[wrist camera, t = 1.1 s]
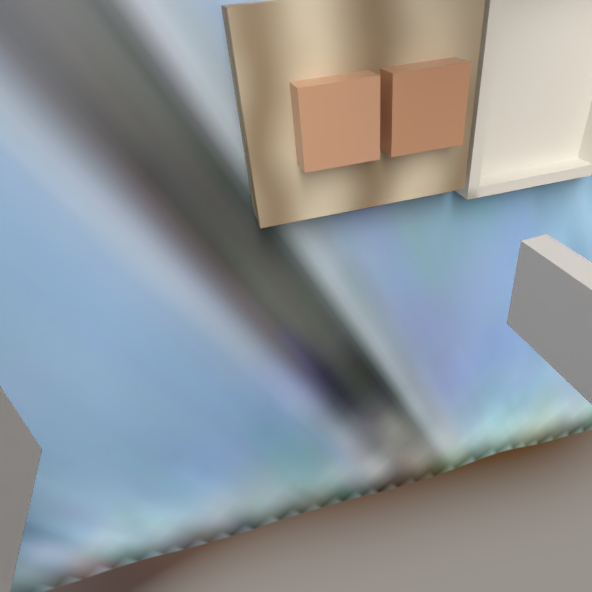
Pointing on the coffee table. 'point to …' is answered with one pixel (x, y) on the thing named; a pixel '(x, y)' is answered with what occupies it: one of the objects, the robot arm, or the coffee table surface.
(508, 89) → the tray
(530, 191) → the coffee table surface
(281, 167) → the board
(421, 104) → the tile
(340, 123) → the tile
